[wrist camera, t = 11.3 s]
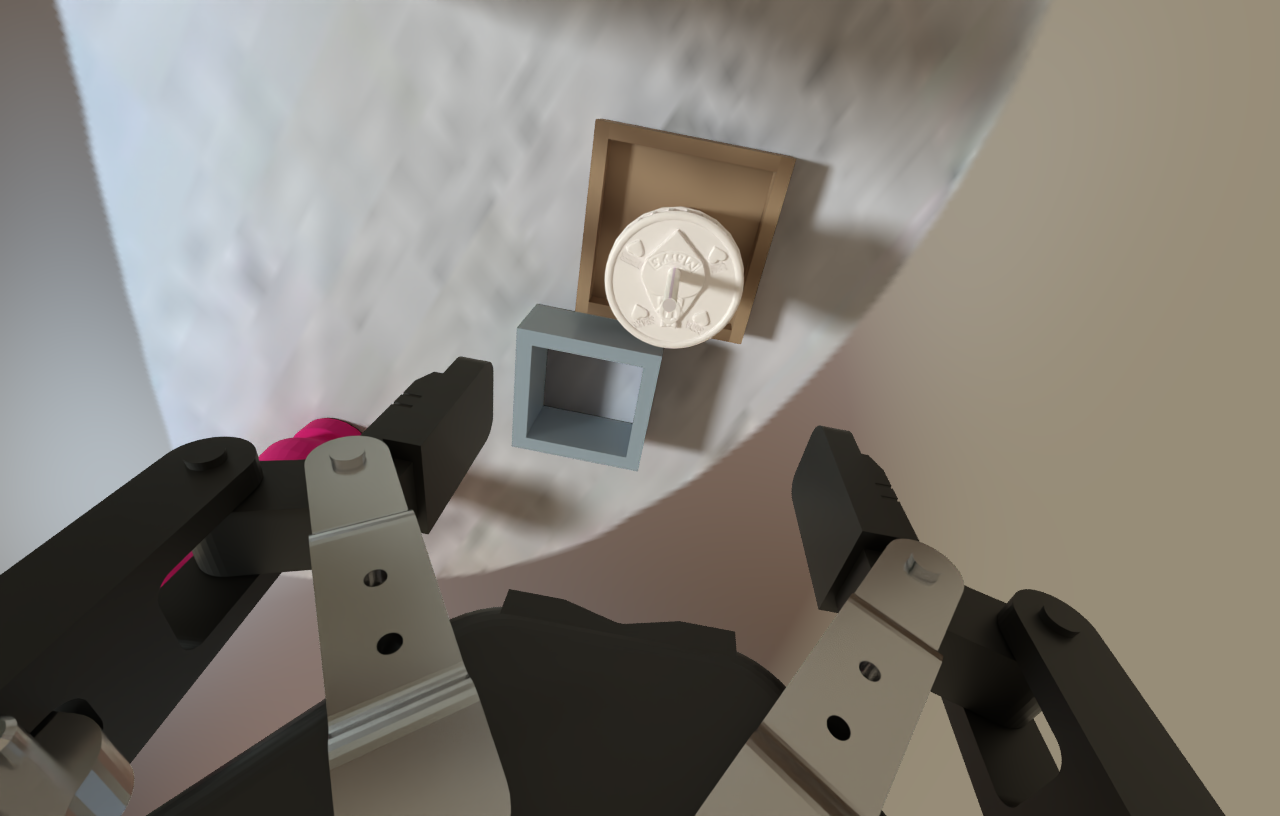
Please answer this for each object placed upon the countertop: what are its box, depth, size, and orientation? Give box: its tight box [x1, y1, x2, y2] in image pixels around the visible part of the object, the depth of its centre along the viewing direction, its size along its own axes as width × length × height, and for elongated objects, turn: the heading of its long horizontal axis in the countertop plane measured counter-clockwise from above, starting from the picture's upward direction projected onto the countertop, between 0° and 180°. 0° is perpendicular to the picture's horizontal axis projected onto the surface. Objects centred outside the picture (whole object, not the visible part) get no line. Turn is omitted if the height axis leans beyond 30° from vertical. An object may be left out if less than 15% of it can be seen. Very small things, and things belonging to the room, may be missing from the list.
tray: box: [575, 119, 796, 344], centre depth 31 cm, size 11×11×2 cm
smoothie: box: [605, 206, 744, 348], centre depth 25 cm, size 6×6×14 cm
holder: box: [512, 304, 663, 471], centre depth 36 cm, size 9×9×4 cm
